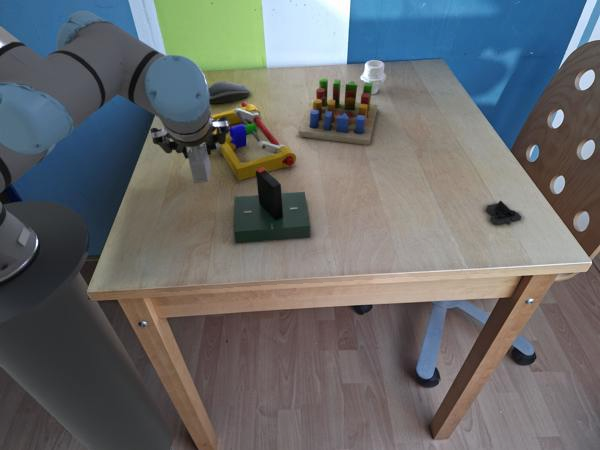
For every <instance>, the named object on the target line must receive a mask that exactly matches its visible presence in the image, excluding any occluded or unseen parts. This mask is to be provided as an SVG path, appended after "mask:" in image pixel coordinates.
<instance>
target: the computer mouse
mask: <svg viewBox="0 0 600 450" xmlns="http://www.w3.org/2000/svg"><path fill="white" fill-rule="evenodd" d="M209 91H210V99H209V104H210V103H211V104H224V103H225V104H226V103H230V102H234V101H237V100H241V99H245V98H247V97H249V95H250V89H249V88H248V86H246V85H244V84H240V83H236V82H231V81H223V80H222V81H216V82H215V83H213V84H211V85H210V86H209Z"/></svg>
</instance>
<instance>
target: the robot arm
mask: <svg viewBox="0 0 600 450" xmlns="http://www.w3.org/2000/svg"><path fill="white" fill-rule="evenodd" d="M209 87H210V86H209V84H208V81H207V79H206V77H205V74H204V72H203V70H202V69H201V68H200V66H199V65H198V64H197V63H196V62H194V61H193V60H191V59H190V58H188V57H185V56H184V55H183V56H182V55H176V54H175V55H174V54H168V55H165V54H164V53H162V52H159V51H158V50H157V49H154V48H153V47H151V46H150V45H148V44H147V43H145V42H144V41H142V40H140V39H139V38H137V37H135V36H134V35H133V34H131V33H129V32H127V31H126V30H124V29H123V28H121V27H120V26H118V25H117V24H116V23H114V22H111V21H110V20H107V19H104V18H102V17H101V16H99V15H97V14H95V13H93V12H91V11H88V10H78V11H75V12H73V13H71V14H70V15H69V16H68V18H67V21H66V22H63V23H62V25H61V26H60V28H59V29H58V32H57V35H56V40H55V51H53V52H52V53H50V54H48V55H47V56H44V57H42V56H41V55H39V54H38V53H37V52H35V51H34V50H33V49H32V48H30V47H29V46H28V45H26V44H25V43H24V42H22V41H20V40H19V39H18V38H16V36H14V35H13V34H11V33H10V32H9V31H7V30H6V29H5V28H4V27H2V26H1V25H0V194H1V193H3V191H4V190H6V189H7V188H8V187H10V186H11V185H13V183H15V182H16V181H17V180H18V179H20V178H21V177H22V176H23V175H25V173H27V172H29V170H31V169H32V168H33V167H35V166H36V165H38V164H40V163H42V162H43V161H44V160H45V159H46V157H47V156H48V155H49V153H51V152H52V151H53V150H54V149H55V147H56V145H57V143H58V142H60V141H61V140H64V139H66V138H67V137H68V136H69V135H71V134H72V133H73V131H74V130H75V129H76V128H77V127H79V126H80V125H81V124H83V122H85V121H86V120H87V119H88V118H89V117H90V116H92V115H93V114H94V113H96V112H97V111H98V110H100V109H101V108H102V107H104V106H105V105H107V104H108V103H109V102H110V101H111V100H113V99H114V98H115V97H116V96H117V95H118V96H121V97H122V98H123V99H125V100H127V101H129V102H131V103H132V104H134V105H136V106H139V107H140V108H142V109H144V110H145V111H146V112H149V113H151V114H152V115H154V116H155V117H158V119H159V120H160V122H161V123H162V125H163V127H164V128H158V127H151V128H150V134H151V138H152V143H153V144H154V145H158V146H159V147H160V148H161V150H163V152H164V153H165V154H171V153H173V151H175V153H177V154H183V157H184V158H185V160H187V159H188V152H189V149H188V148H190V147H195V146H198V145H200V144H204V143H205V145H206V148H207V152H208V156H210V155H212V152H211V150H216V149H217V148H216V143H218V142H219V144H224V143H225V140H226V136H227V135H228V133H230V128H231V126H230V125H229V123H228V118H227V117H222V118H220V119H218V120H216V122H215V121H214V120H213V119H212V116H211V115H212V109H211V104H210V102H209V99H210V91H209ZM215 130H216V132H217V134H213V132H214V131H215ZM3 205H4V204H3V203H2V202H1V201H0V286H1V285H3V284H5V283H7V282H9V281H11V280H13V279H14V278H16V277H17V276H19V275H20V274H22V273H23V272H24V271H25V270H26V269H27V268H28V267H29V266H30V265H31V264H32V263H33V262H34V260H35V259H36V257H37V255H38V253H39V250H40V241H39V238H38V237H37V235H36V234H35V232H34V231H33V230H32V229H31V228H30V227H29V226H28V225H26V224H25V223H23V222H20V221H19V220H18V219H17V218H16V217H15V216H14V215H12V214H11V213H9V212H8V211H7V210H6V209H5V208H4V206H3Z"/></svg>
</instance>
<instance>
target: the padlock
mask: <svg viewBox="0 0 600 450" xmlns="http://www.w3.org/2000/svg"><path fill="white" fill-rule="evenodd" d="M187 159H188V164H189V168H190V171H191V172H190V173H191V177H192V181H193V183H194V184H200V183H208V182H209V181H210V177H211V175H212V168H211V167H212V166H211V162H210V158H209V155H208V152H207V149H206V143H205V142H204V143H202V144H200V145H198V146H195V147H189V149H188V158H187Z"/></svg>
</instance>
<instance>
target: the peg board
mask: <svg viewBox="0 0 600 450" xmlns="http://www.w3.org/2000/svg"><path fill="white" fill-rule="evenodd" d="M328 83H329V79H328V78H326V77H321V78H319V79H318V88H316V90H315V97H313V98H312V100H311V102H310V105H309V107H308V109H307V112H306V114H305V115H304V118H303V121H302V123H301V125H300V127H299V130H298V136H299V137H300V138H301V137H302V138H310V139H317V140H325V141H330V142H340V143H347V144H356V145H362V146H369V145H370V143H371V139H372V133H373V130H374V125H375V121H376V115H377V111H378V105H377V104H376V103H375V104H374V103H371V98H372V94H371V92H372V85H373V83H367V82H365V81H364V84H363V90H362V93H361V95H360V102H357V91H358V84H357V83H356V82H355V81H354V80H350V81H348V82H347V83H345V89H344V90H345V91H344V100H340V99H341V79H339V78H336V79H334V81H333V82H332V99H329V98H328V87H329V85H328Z"/></svg>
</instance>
